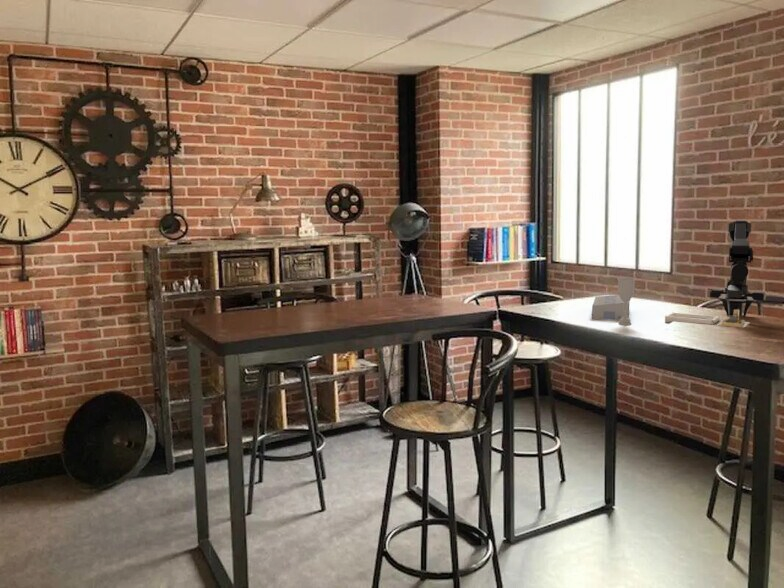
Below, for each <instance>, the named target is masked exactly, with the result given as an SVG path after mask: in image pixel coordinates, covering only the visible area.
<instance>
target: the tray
mask: <svg viewBox="0 0 784 588" xmlns="http://www.w3.org/2000/svg"><path fill="white" fill-rule="evenodd" d="M666 322H668V323H667V324H669V323H670V324H671V323H673V322H683V323H697V324H706V325H715V324H716V323H717V322H720V316H717V315H706V314H695V313H683V312H670V313H669V314H667V315H665V316H664V323H666Z"/></svg>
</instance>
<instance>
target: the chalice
mask: <svg viewBox="0 0 784 588" xmlns="http://www.w3.org/2000/svg"><path fill="white" fill-rule="evenodd" d="M616 279H617V282H618V283H617V292H618V295H619V296H620V298H621V300H622V301H623V302H624V311H623V312H624V317H623V318H621V319H620V320H619V321H618V322H617V323H618V325H621V326H631V325H632V322H631V319H630V317H629V318H627V315H626V314H627V302H629V303H630V301H631V299H632V297H633V296H634V293H635V287H636V286H635V285H636V283H635V282H636V280H637V278H635V277H617V278H616Z"/></svg>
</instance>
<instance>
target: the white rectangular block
mask: <svg viewBox="0 0 784 588" xmlns="http://www.w3.org/2000/svg"><path fill="white" fill-rule="evenodd" d="M736 318H737V315H732V316H729V319H730V320H729V322H734V323H735V319H736ZM722 321H723V320H721V321H719V322H718V323H717V324H716V326H724V327H726V326H725V325H721V322H722ZM750 323H751V322H749V321H745V323H744V324H743V325H742V326H740V327H739V328H746V327H747V326H748V325H749V324H750ZM732 327H734V328H738V327H737V326H732Z"/></svg>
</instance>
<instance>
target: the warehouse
mask: <svg viewBox="0 0 784 588" xmlns="http://www.w3.org/2000/svg"><path fill="white" fill-rule="evenodd" d="M591 308H592V309H591V319H593V320H594V319H597V320H617V321H618V320H619V321H620V319H621V318H623V317H624V312H623V311H624V302H623V301H622V300H621V298H620V296H619V294H612V295H611V294H610V295H601V296H600V295H599V296H595V297H594V301H593V303H592V307H591ZM626 315H627V318H629V319H630V301H629V302H627V314H626Z"/></svg>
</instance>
